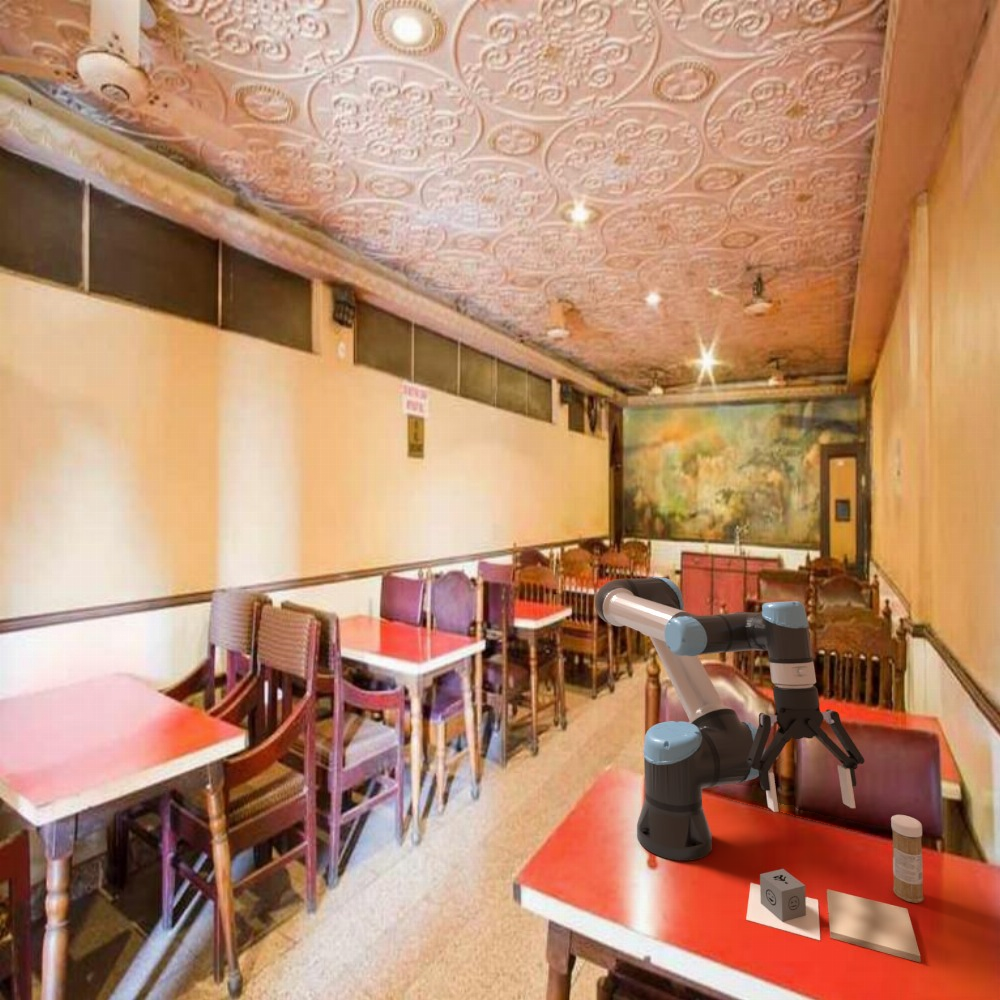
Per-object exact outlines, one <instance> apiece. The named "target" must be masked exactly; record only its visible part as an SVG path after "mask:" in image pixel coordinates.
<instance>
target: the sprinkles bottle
mask: <svg viewBox="0 0 1000 1000" xmlns="http://www.w3.org/2000/svg"><path fill="white" fill-rule="evenodd" d="M890 821H891V822H890V824H891V831H892V873H893V887H892V888H893V892H894V894H895V896H897V897H898V898H899V899H902V900H903V901H905V902H908V903H915V904H918V903H922V902H923V901H924V900H925V899H924V895H923V891H924V889H923V888H924V887H923V882H924V881H923V880H924V878H923V876H924V874H923V851H922V837H923V825H922V823H921V822H920V821H919V820H918V819H916V818H914V817H913V816H908V815H904V814H895V815H892V816H891V818H890Z"/></svg>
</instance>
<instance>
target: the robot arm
mask: <svg viewBox="0 0 1000 1000" xmlns="http://www.w3.org/2000/svg"><path fill="white" fill-rule="evenodd" d="M594 607H595V611H596V613H597V615H598V616H599V618H600V619H602V620H603V621H604V622H605V623H607V624H608V625H609V624H610V625H613V626H615V627H623V626H626V627H628V628H630V629H632V630H634V631H635V630H636V631H637V632H640V633H641V634H642V635H644V636H647V637H649V638H650V641H651V643H652V644H653V647H654V648H655V651H656V654H657V655H658V657H659V659H660V661H661V664H662V665H663V668H664V670H665V671H666V674H667V676H668V678H669V680H670V682H671V684H672V687H673V688H674V690H675V693H676V695H677V697H678V699H679V701H680V703H681V706H682V707H683V710H684V712H685V714H686V716H687V718H688V720H689V721H684V720H683V721H682V720H680V721H675V720H670V721H663V722H660V723H656V724H654V725H652V726H651V727H649V729H648V730H647V731H646V733H645V734H644V741H643V743H644V745H643V750H642V753H643V757H644V758H643V759H644V760H643V761H644V762H643V764H644V765H643V766H644V767H643V768H644V801H643V804H642V806H641V807H642V808H641V810H640V813H639V817H638V820H637V824H636V837H637V840H638V842H639V844H640V845H641V846H642V847H643V848H644V849H646V850H647V852H650V853H652V854H654V855H656V856H658V857H662V858H664V859H667V860H673V861H694V860H698V859H703V858H704V857H706V856H707V855H708V854H709V853H711V851H712V848H713V841H712V839H713V838H712V837H713V836H712V832H711V828H710V826H709V823H708V820H707V817H706V814H705V811H704V808H703V789H706V788H712V787H717V786H723V785H725V786H726V785H731V784H737V783H738V784H742V783H743V784H744V783H745V782H746V781H752V780H754V779H757V778H759V786H760V788H761V789H762V790H763V791H764V792H765V793H766V803H767V807H768V809H770V810H771V811H772V812H774V813H777V812H778V813H779V805H778V797H777V790H776V789H777V788H776V783H775V782H776V780H775V774H774V772H773V771H772V770H771V768H772V766H773V764H774V763H775V761H777V759H778V756H779V755H780V754H781V752H782V751H783V749H784V748H785V746H786V745H787V743H789V742H790V741H791V739H794V740H801V739H803V738H805V739H809V740H810V739H813V738H814V737H815V738H816V739H817V740H818V741H819V742H821V744H822V745H823V746H824V747H825V748H826V749H827V750H828V751H829V752H830V753H832V755H833V756H834V757H835V758H836V759H837V760H838V761H839V762H840V763H841V764H837V772H838V779H839V785H840V791H841V798H842V804H844V805H845V806H847V807H849V808H850V809H856V802H855V795H854V789H853V787H857V777H856V772H855V770H857V769H858V765H863V764H865V758H864V757H863V755H862V753H861V752H860V750H859V749H858V747H857V746H856V743H854V741H853V739H852V738H851V736H850V734H848V732H847V730H846V729H845V727H844V726H843V724H842V721H841V718H840V714H839V712H838V711H835V710H833V709H829V708H828V709H826V710H825V711H821V710H820V706H821V705H820V698H819V692H818V691H819V690H818V688H817V687H816V685H814V684H816V683H817V679H816V672H815V671H816V670H815V666H814V665H815V664H814V658H813V651H812V644H811V638H810V637H811V636H810V628H809V626H810V624H809V623H810V622H809V621H808V617H807V612H806V609H805V605H804V604H803V603H802V602H801V601H797V600H795V601H793V600H791V601H774V602H764V603H763V604H762V605H761V608H762V609H761V610H762V611H761V612H747V611H741V612H733V613H732V612H730V613H724V614H721V613H720V614H709V615H700V614H699V615H697V614H694V613H691V612H688V611H684V608H685V605H684V601H683V594H682V591H681V590H680V588H679V586H678V585H677V584H676V582H674V581H673V580H671V579H669V578H666V577H658V576H651V577H648V578H646V577H645V578H643V577H642V578H618V579H613V580H610V581H608V582H606V583H604V584H603V585H602V586H601V587H599V590H598V591H597V592H596V595H595V597H594ZM743 651H744V652H746V651H762V652H765V651H766V652H767V653H768V663H769V670H770V671H769V672H770V679H771V680H770V681H771V683H772V684H774V686H773V687H772V694H773V701H774V706H775V712H774V713H775V714H767V713H764V712H760V713H759V714H758V726H757V727H756V725H754V724H751V723H750V722H748V721H741V720H740V718H739V717H738V714H737V713H736V711H735V709H734V708H732V707H729V706H726V705H725V704H724V702H723V701H722V699H721V697H720V695H719V693H718V691H717V690H716V687H715V686H714V684H713V682H712V680H711V678H710V676H709V674H708V672H707V671H706V668H705V667H704V665H703V663H702V661H701V659H700V658H699V656H701V655H703V656H704V655H711V654H720V653H733V652H743ZM824 721H825V722H826V723H827V724H828V725H829V727H830V729H831V730H832V732H833V733H834V735H835V736H836V738H837V740H838V741H839V742H840V744H841V745H842V747H843V749H844V750H845V751H843V749H842V748H841V747H840V746H838V744H836V743H835V742H834V741H833V740H832V739H831V738H830V737H829V736H828V734H827V733H826V732H825V731H824V730H823V729H822V728H821V726H822V724H823V722H824ZM775 723H776V724H777V725H778V726H779V727H778V729H777V730H776V731H775V734H774V735H775V736H774V737H773V739H772V740H771V741H770V744H769V745H768V746H767V747H766V745H767V742H768V739H769V736H770V733H771V728H772V727H773V726H774V724H775ZM845 752H846V753H845ZM847 754H848V755H847Z"/></svg>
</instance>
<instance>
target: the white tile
mask: <svg viewBox="0 0 1000 1000" xmlns="http://www.w3.org/2000/svg"><path fill="white" fill-rule="evenodd" d="M749 886H750V887H749V895H748V902H747V910H746V917H745V918H746V919H745V920H746V921H749V922H752V923H755V924H759V925H763V926H766V927H769V928H774V929H777V930H779V931H785V932H788V933H791V934H795V935H797V936H798V935H799V936H802V937H805V938H809V939H813V940H816V941H821V931H820V913H819V900H818V899H816V898H811V897H808V896H806V915H805V916H802V917H798V918H794V919H791V920H787V921H784V922H782V921H781V920H780V919H779V918H777V917H776V916H775V915H774V914H773V913H772V912H770V911H769V910H768V909H767V908H766V907H765V906H763V905H762V904H761V894H760V884H757V883H753V882H750V885H749Z"/></svg>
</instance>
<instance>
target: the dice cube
mask: <svg viewBox="0 0 1000 1000" xmlns="http://www.w3.org/2000/svg"><path fill="white" fill-rule="evenodd" d="M759 882H760V884H759V885H760V894H761V904H762V905H763V906H765V907H766V908H767V909H768V910H769V911H770V912H772V913H773V914H774V915H775V916H776V917H777V918H779V919H780V920H781V921H782V922H784V921H787V920H791V919H794V918H798V917H802V916H805V915H806V897H807V895H806V885H805V884H804V883H803V882H801V881H800V880H799V879H797V878H796V877H794V876H793V875H792V874H791V873H789V872H788V871H786V869H784V868H781V869H776V870H772V871H767V872H764V873H760V874H759Z"/></svg>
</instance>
